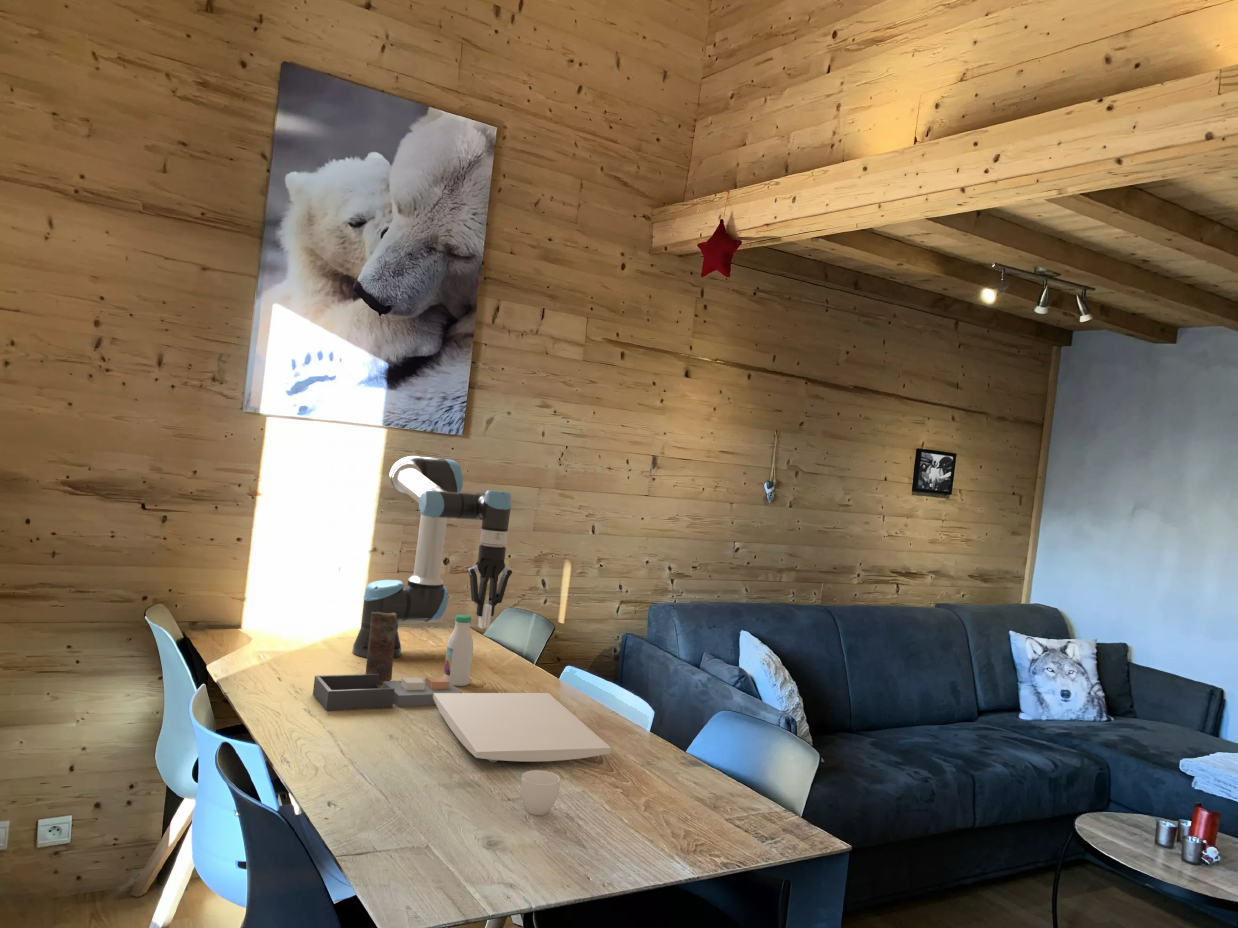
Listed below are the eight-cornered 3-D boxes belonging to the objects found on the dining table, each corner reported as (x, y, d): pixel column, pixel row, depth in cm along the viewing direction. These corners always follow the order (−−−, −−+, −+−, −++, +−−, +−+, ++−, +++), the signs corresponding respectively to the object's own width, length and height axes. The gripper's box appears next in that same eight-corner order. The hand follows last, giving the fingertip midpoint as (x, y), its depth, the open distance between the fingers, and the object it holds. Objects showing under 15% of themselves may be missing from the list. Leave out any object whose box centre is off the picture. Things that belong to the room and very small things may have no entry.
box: (312, 694, 239) (314, 675, 239) (376, 691, 248) (378, 673, 248) (326, 710, 226) (328, 691, 226) (392, 707, 235) (394, 688, 235)
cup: (530, 821, 173) (534, 786, 173) (505, 801, 182) (508, 768, 181) (564, 815, 178) (567, 781, 178) (538, 796, 186) (541, 764, 186)
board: (431, 710, 238) (433, 693, 238) (546, 709, 250) (548, 692, 250) (474, 772, 196) (476, 751, 196) (609, 767, 209) (611, 747, 209)
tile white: (400, 685, 246) (401, 677, 246) (418, 684, 249) (419, 677, 249) (406, 690, 242) (407, 682, 242) (424, 689, 245) (425, 682, 245)
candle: (358, 680, 257) (366, 611, 257) (374, 676, 264) (382, 608, 263) (380, 686, 254) (388, 615, 254) (396, 681, 261) (404, 612, 261)
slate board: (382, 691, 248) (383, 681, 248) (444, 689, 258) (445, 678, 258) (397, 706, 236) (398, 695, 236) (461, 703, 246) (463, 692, 246)
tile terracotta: (425, 684, 250) (426, 677, 250) (442, 683, 253) (443, 676, 253) (431, 689, 246) (432, 681, 246) (448, 688, 248) (449, 681, 248)
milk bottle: (472, 681, 269) (479, 615, 269) (465, 687, 262) (472, 619, 262) (447, 678, 270) (454, 612, 270) (439, 684, 262) (447, 616, 262)
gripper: (474, 545, 248) (465, 630, 248) (520, 547, 256) (511, 630, 256) (464, 541, 255) (455, 624, 255) (509, 544, 262) (500, 624, 262)
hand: (483, 627), depth 255 cm, fingers closed
